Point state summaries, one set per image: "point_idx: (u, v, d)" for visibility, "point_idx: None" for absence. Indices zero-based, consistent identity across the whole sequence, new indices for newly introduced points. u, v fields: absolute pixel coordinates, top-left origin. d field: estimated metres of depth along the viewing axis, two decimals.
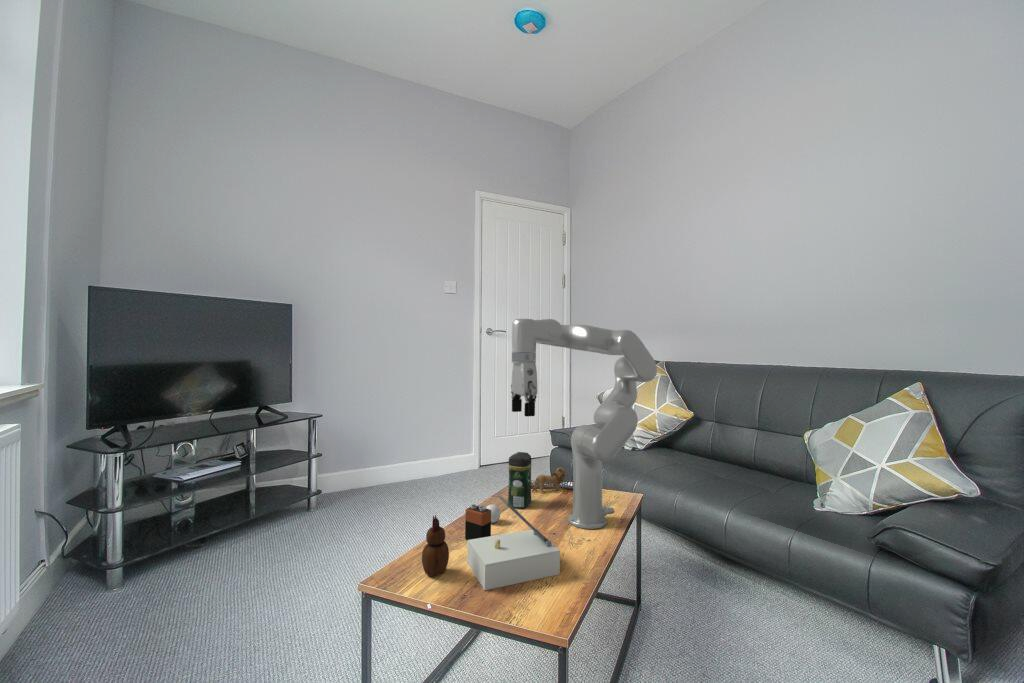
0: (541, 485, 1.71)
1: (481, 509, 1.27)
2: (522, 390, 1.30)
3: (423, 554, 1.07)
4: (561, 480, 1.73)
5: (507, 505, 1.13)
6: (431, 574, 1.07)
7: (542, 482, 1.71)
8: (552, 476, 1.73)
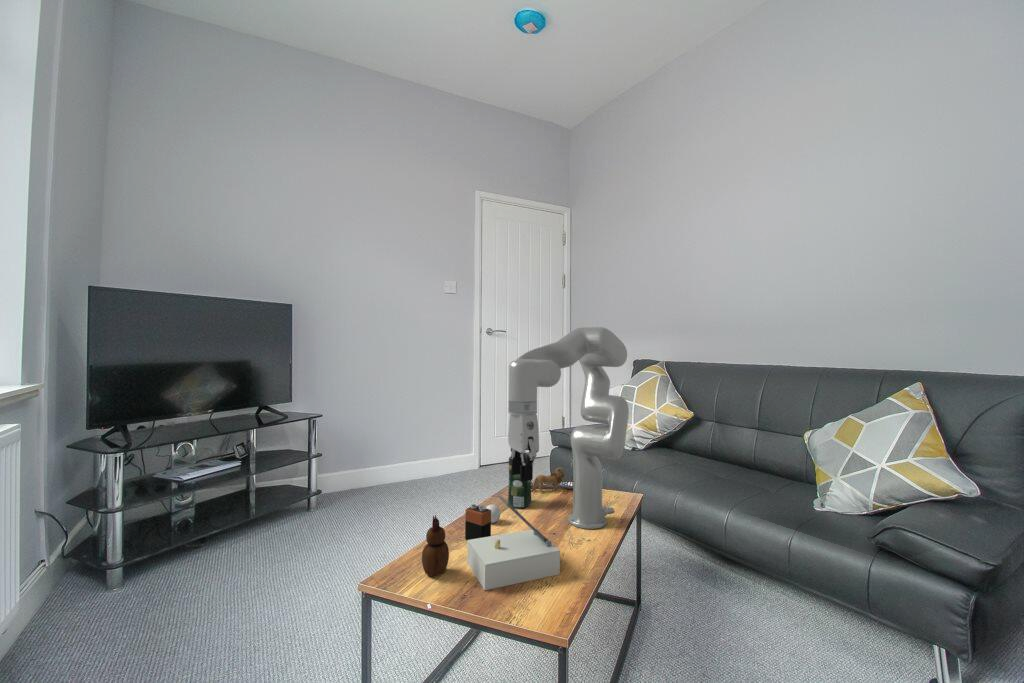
0: (540, 485, 1.71)
1: (481, 509, 1.27)
2: (521, 447, 1.09)
3: (423, 554, 1.07)
4: (560, 480, 1.73)
5: (507, 505, 1.13)
6: (431, 574, 1.07)
7: (541, 482, 1.71)
8: (551, 476, 1.73)
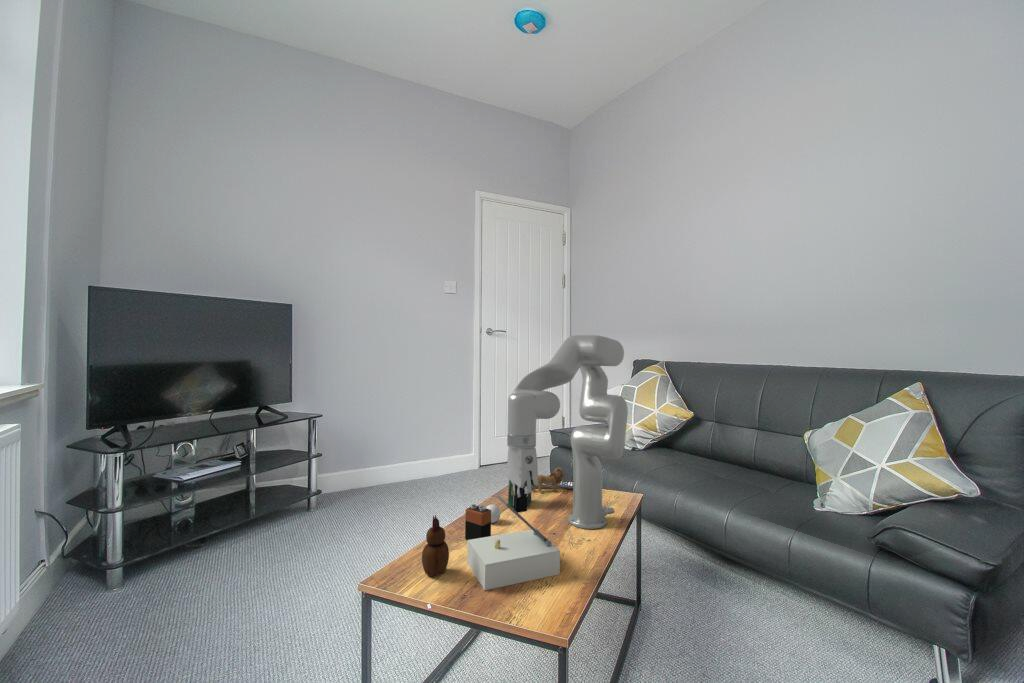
0: (539, 485, 1.71)
1: (481, 509, 1.27)
2: (519, 481, 1.09)
3: (423, 554, 1.07)
4: (559, 480, 1.72)
5: None
6: (431, 574, 1.07)
7: (540, 482, 1.71)
8: (550, 476, 1.72)
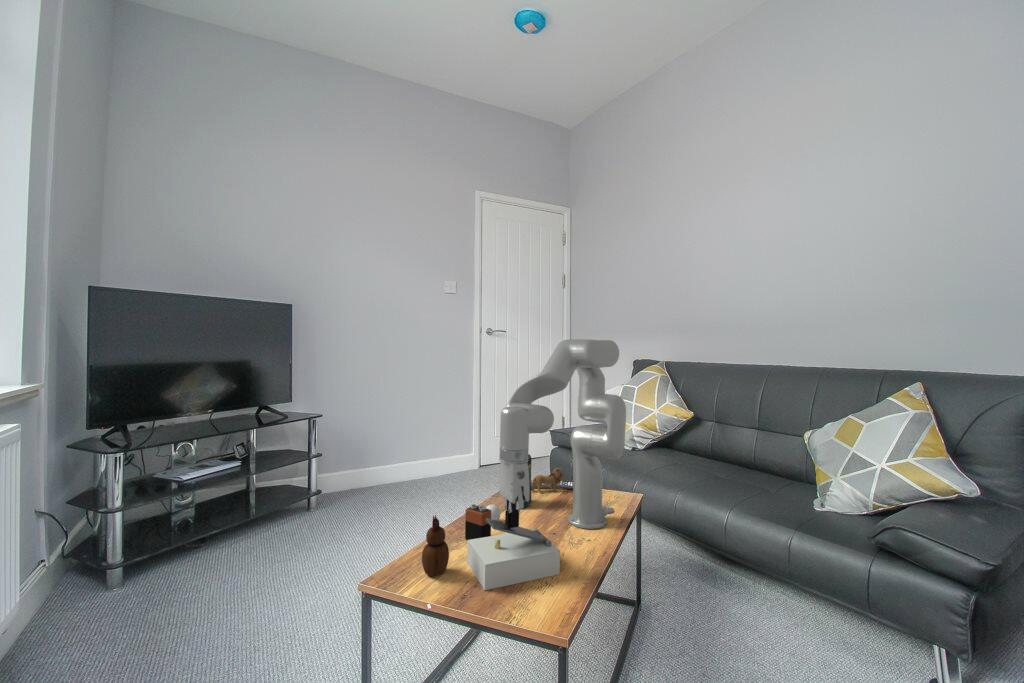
0: (539, 485, 1.71)
1: (481, 509, 1.27)
2: (511, 497, 1.08)
3: (423, 554, 1.07)
4: (559, 480, 1.72)
5: (496, 525, 1.12)
6: (431, 574, 1.07)
7: (540, 482, 1.71)
8: (550, 476, 1.72)
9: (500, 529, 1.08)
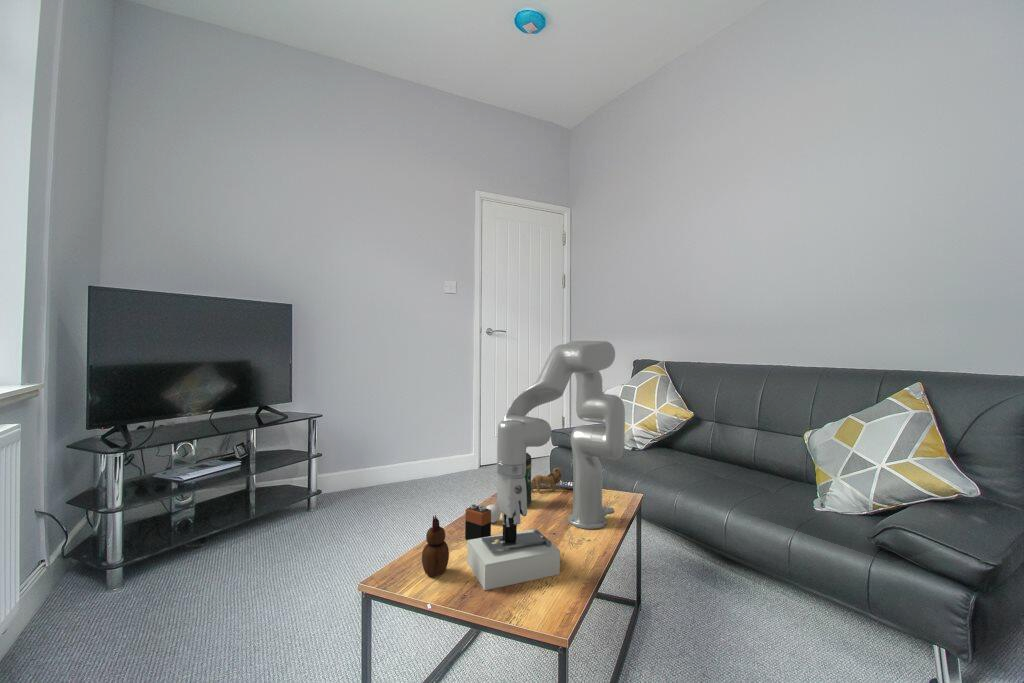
0: (538, 485, 1.71)
1: (481, 509, 1.27)
2: (508, 512, 1.07)
3: (423, 554, 1.07)
4: (558, 480, 1.72)
5: None
6: (431, 574, 1.07)
7: (539, 482, 1.71)
8: (549, 476, 1.72)
9: (496, 548, 1.07)
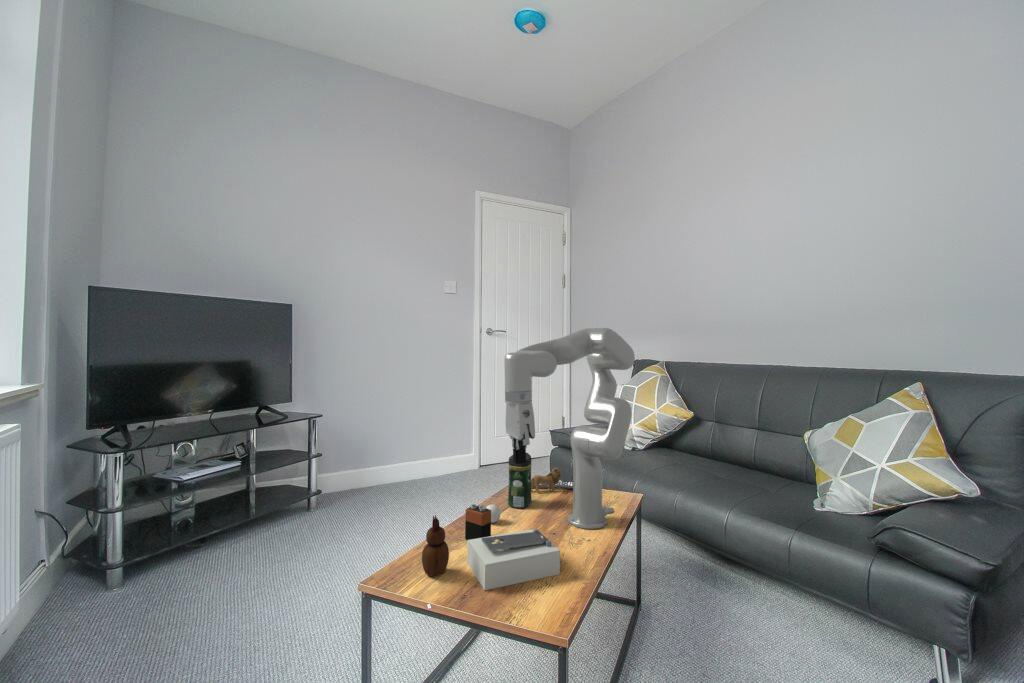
0: (536, 485, 1.71)
1: (481, 509, 1.27)
2: (518, 434, 1.16)
3: (423, 554, 1.07)
4: (557, 480, 1.72)
5: None
6: (431, 574, 1.07)
7: (537, 482, 1.71)
8: (548, 476, 1.72)
9: (496, 548, 1.07)
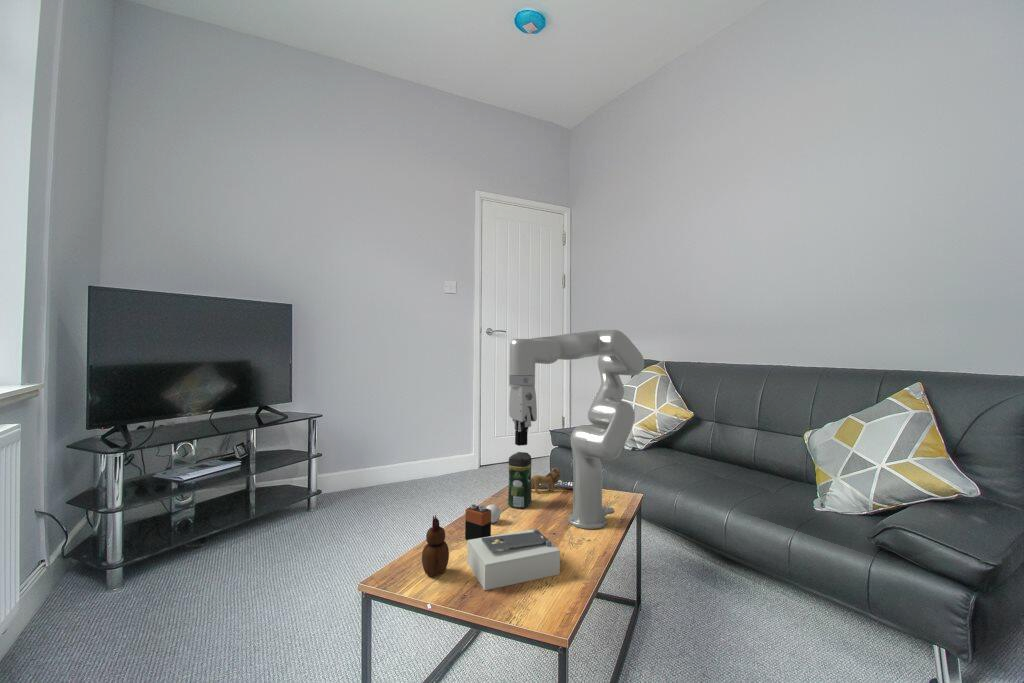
0: (536, 486, 1.71)
1: (481, 509, 1.27)
2: (520, 416, 1.21)
3: (423, 554, 1.07)
4: (556, 480, 1.72)
5: None
6: (431, 574, 1.07)
7: (537, 482, 1.71)
8: (547, 476, 1.72)
9: (496, 548, 1.07)
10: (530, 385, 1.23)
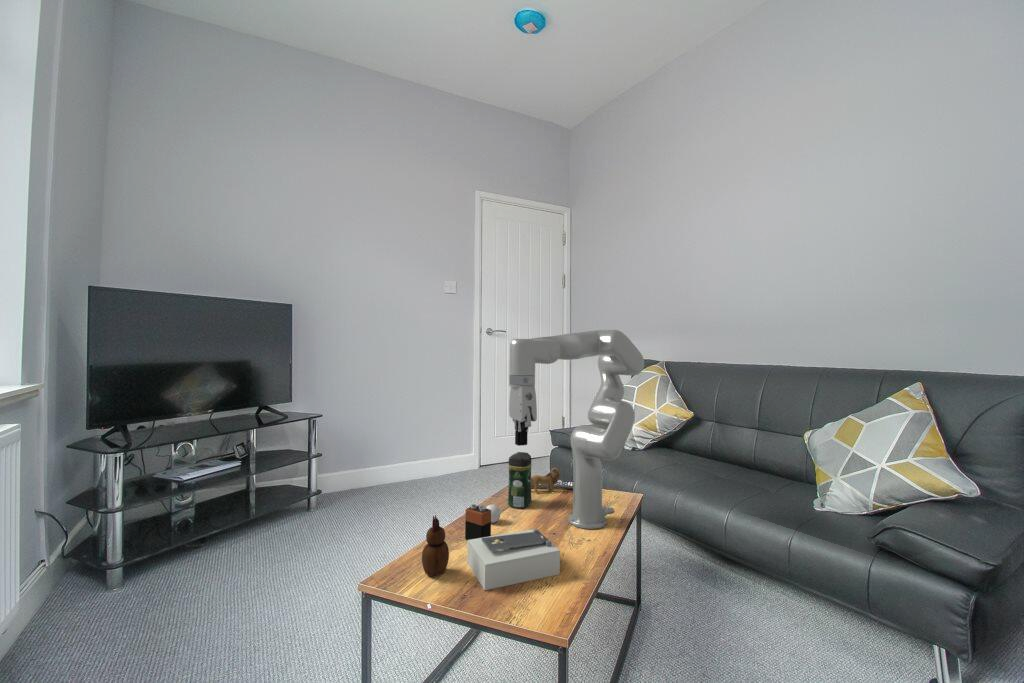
0: (535, 486, 1.70)
1: (481, 509, 1.27)
2: (520, 416, 1.21)
3: (423, 554, 1.07)
4: (555, 480, 1.72)
5: None
6: (431, 574, 1.07)
7: (536, 483, 1.70)
8: (546, 476, 1.72)
9: (496, 548, 1.07)
10: (530, 385, 1.23)
